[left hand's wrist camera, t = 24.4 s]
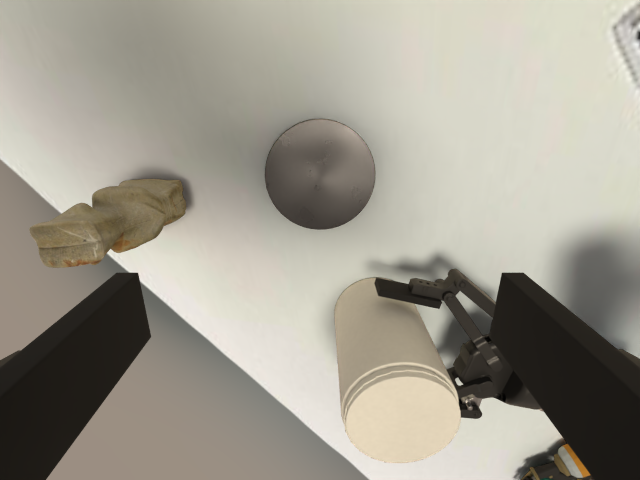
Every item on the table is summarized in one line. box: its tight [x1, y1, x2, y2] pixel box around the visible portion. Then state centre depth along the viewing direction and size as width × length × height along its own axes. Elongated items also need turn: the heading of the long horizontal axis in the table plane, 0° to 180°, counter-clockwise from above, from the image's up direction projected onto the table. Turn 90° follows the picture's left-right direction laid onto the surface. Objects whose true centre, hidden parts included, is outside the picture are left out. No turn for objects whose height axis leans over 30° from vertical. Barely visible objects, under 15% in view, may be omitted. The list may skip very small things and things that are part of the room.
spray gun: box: [521, 444, 594, 480], centre depth 53 cm, size 4×17×15 cm
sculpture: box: [29, 179, 186, 268], centre depth 32 cm, size 6×7×15 cm
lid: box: [265, 119, 375, 229], centre depth 38 cm, size 12×12×2 cm
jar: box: [334, 278, 461, 463], centre depth 37 cm, size 10×10×17 cm
